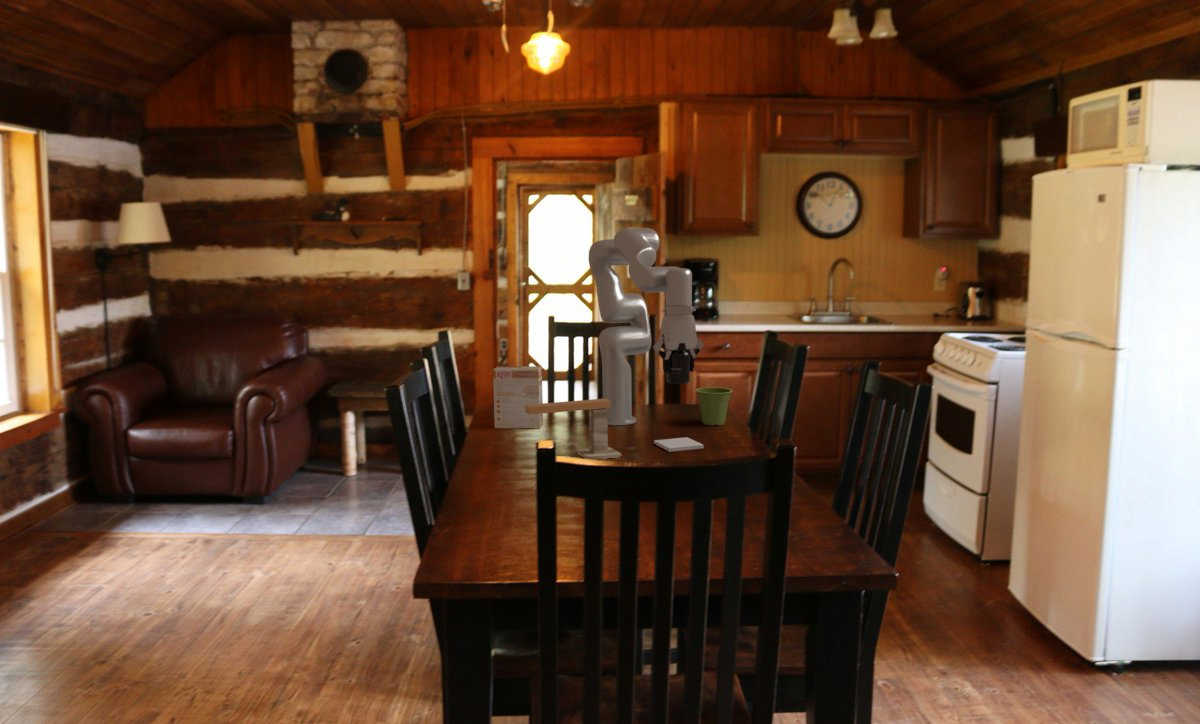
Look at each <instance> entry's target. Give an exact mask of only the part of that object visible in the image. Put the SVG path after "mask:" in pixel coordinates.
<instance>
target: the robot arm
mask: <svg viewBox="0 0 1200 724" xmlns="http://www.w3.org/2000/svg"><path fill="white" fill-rule="evenodd" d="M659 248H660V237H659V234H658V233H657V231H656V230H654V229H652V228H650V227H626V228H623V229H620V230H618V231H617V232H616V233H615V234H614V237H613V238H612V239H611V238H607V239H602V240H597V241H595V242H593V243H592V244H591V246H590V248H589V250H588V265H589V268H590V271H591V274H592V277H593V279H594V283H595V288H596V294H597V303H598V309H599V310H598V311H599V315H600V318H601V320H602V321H603V322H604V323H608V324H621V323H622V324H623V323H629V324H630V325H624V326H623V325H621V326H611V327H607V328H604V329H603V330H602V331H601V332H600V333H599V336H598V345H599V349H600V357H601V365H602V367H601V368H602V369H601V370H602V371H601V372H602V373H601V375H602V376H601V377H602V399H608V400H610V401H611V408H606V409H607V425H608V426H628V425H632V424H633V425H634V424H635V423H636V422H637V418H636V417H635V416H633V415H632V409H633V407H632V405H633V404H632V368H631V365H630V363H629V362H628V361H627V359H626V357H625V356H632V355H633V356H634V355H642V354H646V353H648V352H649V351H650V350H651V347H652V348H653V350H654V351H655V352H656V354H658V356H660V358H661V359H662V370H663V372H664V373H666V374H667V373H670V372H671V361H670V360H669V357H670V354H671V352H672V351H675V350H678V349H677V348H678V347H679V343H685V346H686V348H687V349H686V350H687V351H688V352H689V353H690V373H693V372H694V369H695V359H696V357H697V355H698V354H699V353H700V351H702V349H703V348H704V346H705V343H703V341H701V340H700V338H698V337H697V327H696V320H695V316H694V315H693V312H696V310H697V307H696V306H694V305H693V272H692V271H691V269H690V268H684V267H683V268H681V267H679V266H671V265H670V266H653V265H654V264H655V262H656V260H657V252H658V250H659ZM612 266H628V274H629V279H630V280H631V282H632V283H633V285H634V286H635V287H637V289H638V290H639V291H641V292H643V293H645V294H646V293H647V294H651V293H665V315H663V316H662V320H661V326H660V333H659V334H660V335H659V340H658V341H657V342H656V343H655V344H654V345H653V346H652V333H651V325H650V318H649V317H650V316H649V311H648V305H647V303H646V300H645V299H644V297H643V295H641V294H639V293H637V292H636V293H635V292H632V293H629V292H628V293H624V290H623V284H622V283H623V282H622V280H621V277H620V276H619V274H618V273H617V271H616V270H615V269H614V268H613V267H612Z"/></svg>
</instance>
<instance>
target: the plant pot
mask: <svg viewBox="0 0 1200 724" xmlns="http://www.w3.org/2000/svg"><path fill="white" fill-rule="evenodd" d="M695 392H697V398H698V401H699V408H700V409H699V410H700V415H701V416H700V417H701V423H702V424H703V425H705V426H713V427H714V426H715V425H717V426H722V425H725V423H726V419H727V411H728V406H729V400H730V399H731V394H732V393H733V389H731V388H727V387H719V386H718V387H716V386H711V387H710V386H708V387H707V386H706V387H698V388H696V389H695Z"/></svg>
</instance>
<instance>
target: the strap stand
mask: <svg viewBox="0 0 1200 724" xmlns="http://www.w3.org/2000/svg"><path fill="white" fill-rule="evenodd" d="M588 412H589V413H588V414H589V416H588V417H589V418H588V420H589V421H588V424H589V427H588V428H589V429H588V431H589V447H588V448H587V447H586V448H579V449H578V448H577V449H575V450H576V451H578V452H580V453H581V454H582V455H584V456H583V457H585V458H594V459H602V460H601V461H605V460H608V459H607V458H616V459H618V458H617V457H620V456H623V455H622V453H621V452H619V451H618V450H616V449H614V448H612V447H611V446H608V445H609V444H608V443H609V441H608V440H609V439H608V433H609V432H608V430H609V429H608V426H609V425H607V409H606V408H603V409H591V410H588ZM576 451H575V452H576Z"/></svg>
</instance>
